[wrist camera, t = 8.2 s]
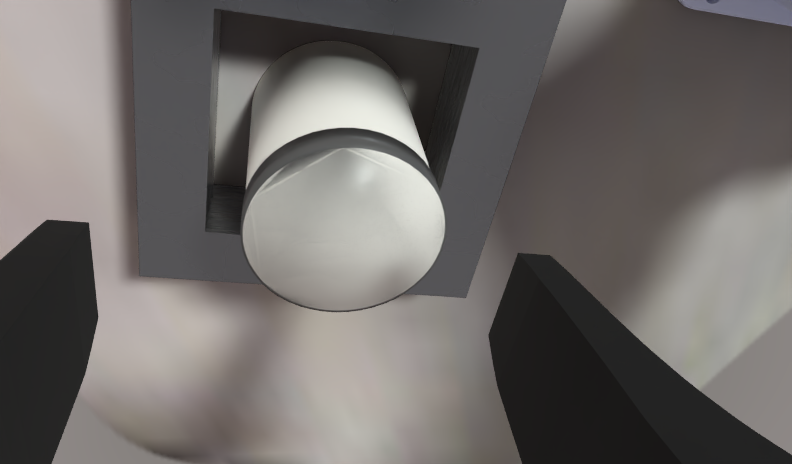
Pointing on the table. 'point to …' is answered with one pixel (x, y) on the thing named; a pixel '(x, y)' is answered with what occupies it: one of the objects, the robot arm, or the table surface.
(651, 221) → the table surface
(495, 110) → the grey square frame
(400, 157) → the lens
